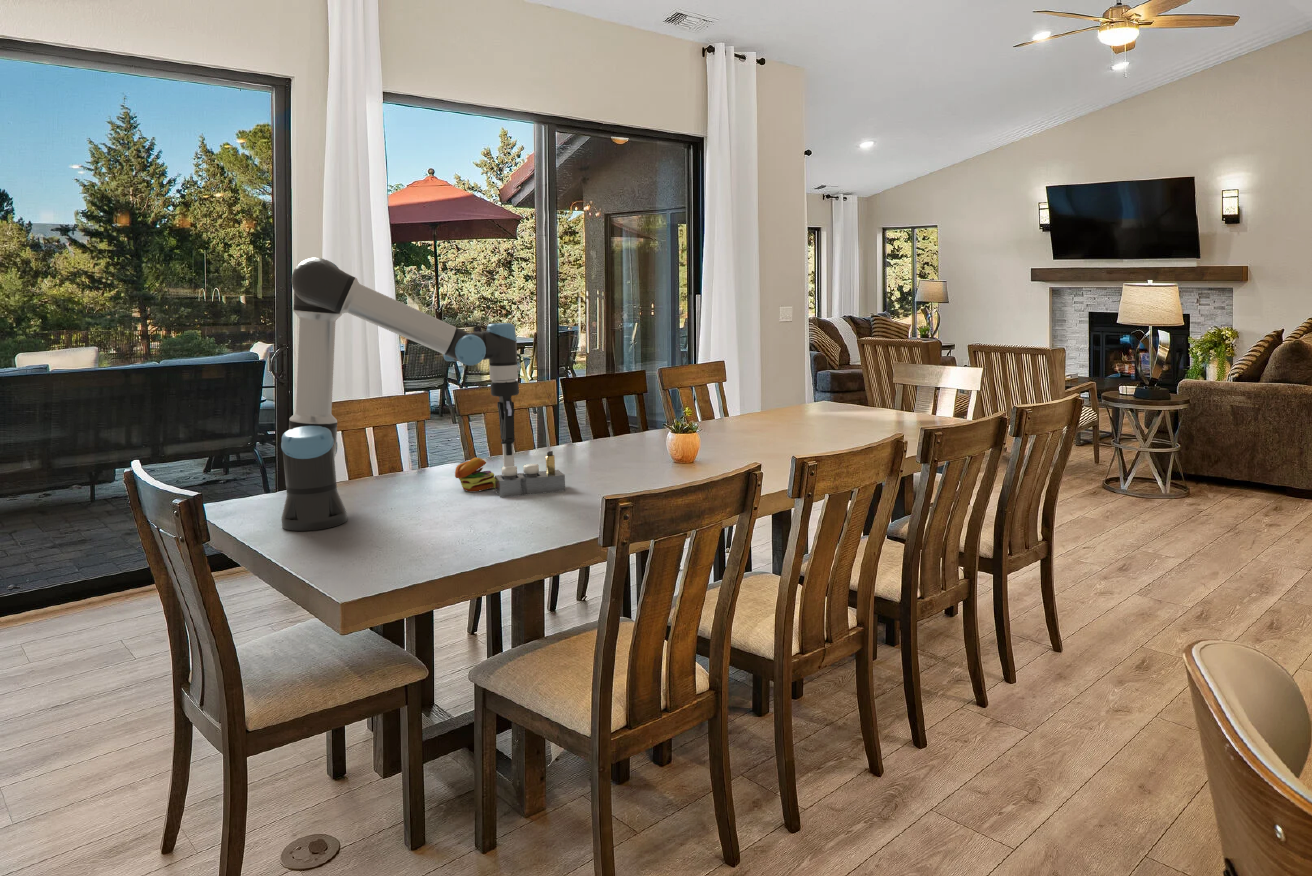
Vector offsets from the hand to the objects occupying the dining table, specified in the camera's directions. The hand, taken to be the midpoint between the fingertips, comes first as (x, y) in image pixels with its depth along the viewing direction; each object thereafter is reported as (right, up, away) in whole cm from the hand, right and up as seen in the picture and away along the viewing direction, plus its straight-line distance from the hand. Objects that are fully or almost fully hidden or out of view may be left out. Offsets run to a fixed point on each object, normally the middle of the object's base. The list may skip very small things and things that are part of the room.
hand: (509, 466), depth 253 cm
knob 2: (+6, -7, +3) cm, 9 cm away
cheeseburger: (-10, -7, +8) cm, 15 cm away
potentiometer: (+11, -2, +4) cm, 12 cm away
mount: (+5, -7, +3) cm, 9 cm away
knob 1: (0, -7, +1) cm, 7 cm away
